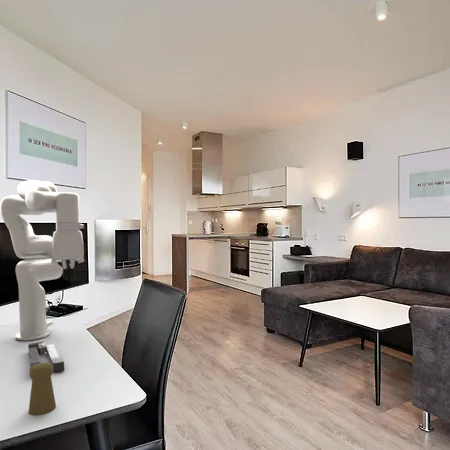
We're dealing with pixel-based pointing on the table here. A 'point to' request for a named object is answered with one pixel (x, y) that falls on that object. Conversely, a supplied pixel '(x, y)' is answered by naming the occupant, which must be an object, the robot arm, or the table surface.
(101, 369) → the table surface
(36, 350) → the tong base
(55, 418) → the table surface
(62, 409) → the table surface
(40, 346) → the tong arm
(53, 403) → the cork
